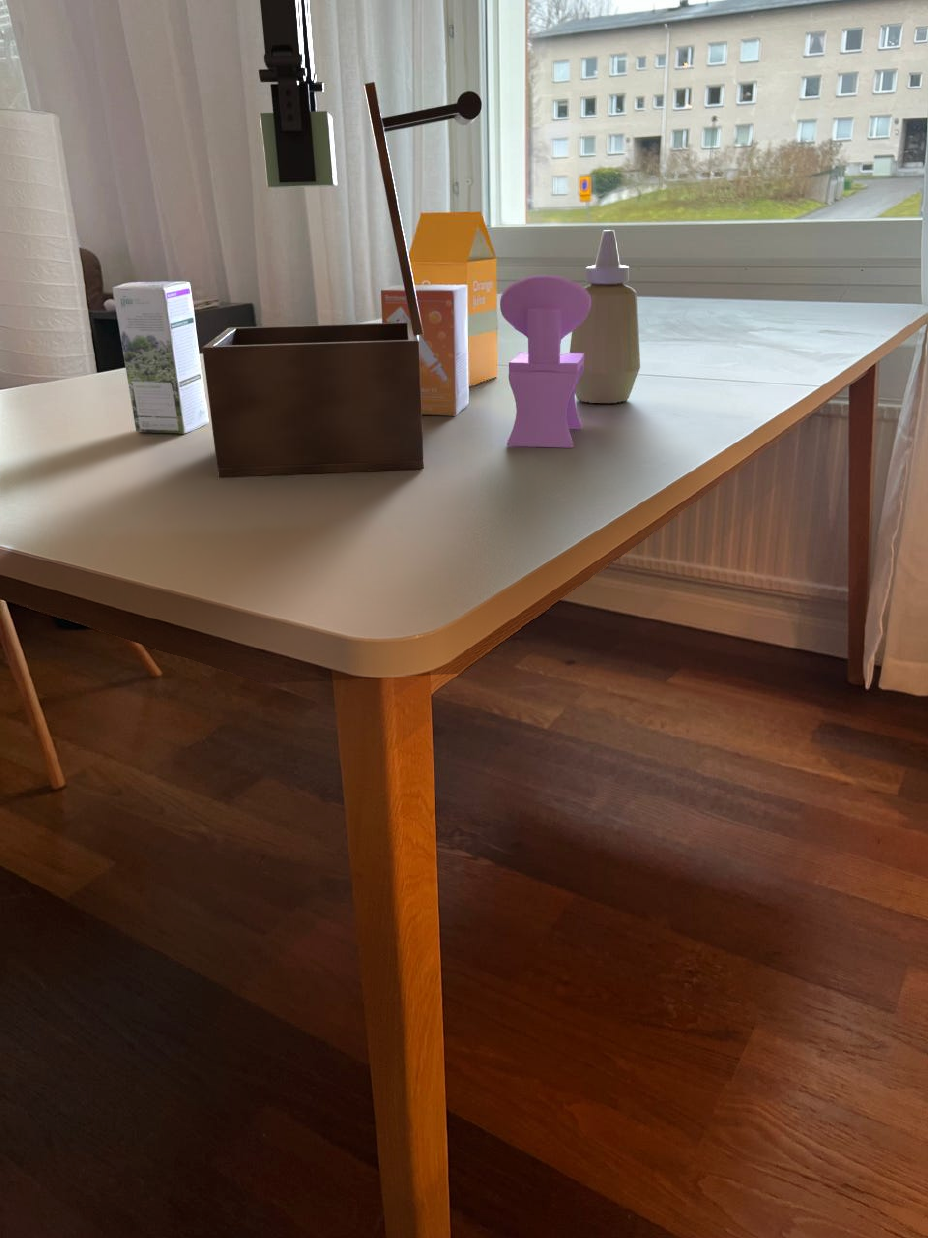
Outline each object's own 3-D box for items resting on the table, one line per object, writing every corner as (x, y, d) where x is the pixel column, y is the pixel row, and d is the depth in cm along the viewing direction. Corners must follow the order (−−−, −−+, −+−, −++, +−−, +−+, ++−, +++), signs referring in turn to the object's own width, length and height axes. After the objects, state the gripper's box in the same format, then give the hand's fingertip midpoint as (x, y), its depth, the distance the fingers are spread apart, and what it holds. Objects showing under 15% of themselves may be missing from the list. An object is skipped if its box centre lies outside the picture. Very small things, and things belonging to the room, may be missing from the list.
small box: (385, 414, 105) (378, 288, 99) (401, 403, 110) (396, 283, 105) (457, 416, 103) (454, 288, 98) (470, 404, 109) (467, 283, 103)
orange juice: (469, 386, 119) (465, 212, 111) (409, 382, 123) (402, 213, 115) (498, 377, 125) (497, 210, 117) (441, 372, 129) (435, 211, 121)
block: (267, 186, 73) (259, 112, 71) (275, 187, 78) (268, 118, 76) (333, 184, 73) (327, 110, 71) (337, 185, 78) (332, 116, 76)
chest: (218, 477, 82) (201, 347, 78) (241, 441, 95) (228, 327, 90) (423, 469, 83) (418, 340, 79) (420, 434, 95) (415, 321, 91)
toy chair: (592, 427, 97) (597, 269, 91) (584, 447, 89) (589, 276, 83) (511, 425, 98) (510, 270, 92) (496, 445, 90) (494, 277, 84)
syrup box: (210, 422, 103) (192, 279, 97) (184, 435, 97) (162, 284, 92) (162, 421, 104) (141, 280, 98) (133, 433, 99) (109, 284, 93)
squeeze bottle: (556, 396, 112) (558, 230, 105) (618, 391, 114) (625, 228, 107) (585, 409, 105) (590, 232, 98) (651, 403, 107) (661, 229, 100)
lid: (363, 83, 71) (480, 60, 71) (368, 101, 84) (467, 81, 83) (413, 335, 78) (519, 314, 78) (411, 317, 91) (502, 299, 91)
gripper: (236, -146, 74) (268, 185, 83) (187, -245, 58) (234, 181, 67) (333, -147, 74) (355, 183, 84) (313, -246, 58) (342, 178, 67)
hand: (301, 181), depth 75 cm, fingers closed on block, 5 cm apart
